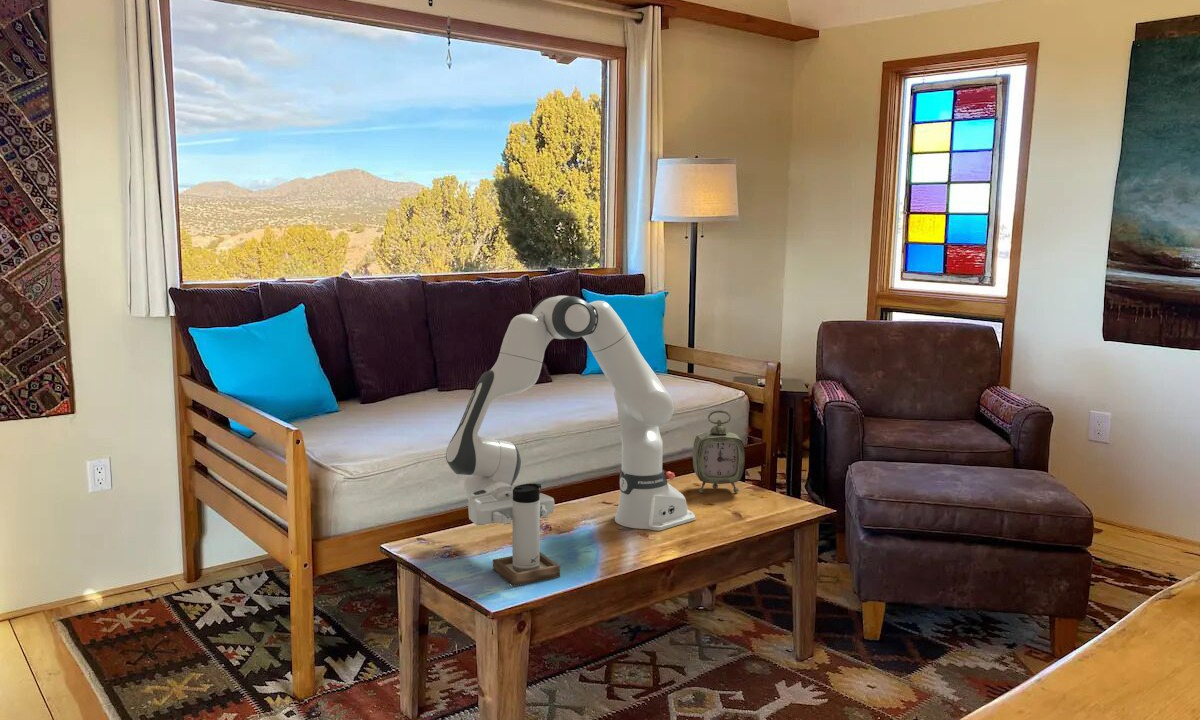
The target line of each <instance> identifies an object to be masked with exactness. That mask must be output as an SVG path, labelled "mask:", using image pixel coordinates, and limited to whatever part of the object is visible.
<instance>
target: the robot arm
mask: <svg viewBox="0 0 1200 720" xmlns="http://www.w3.org/2000/svg"><path fill="white" fill-rule="evenodd" d="M579 338H582V339H583V340H584V341H585V342H586V345H587V346H588V348H589V350H590V352H591V353H592V355H593V357H594V358H595V360H596V362H597V364H598V366H599V367H600V369H601V371H602V373H603V374H604V376H605V377H606V379H607V380H608V381H609V382H610V383H611V385H612V386H613V388H614V394H613V395H614V401H615V403H616V408H617V414H618V415H617V416H618V424H619V430H620V431H619V432H620V436H621V437H620V438H621V469H620V470H619V491H620V492H619V499H618V506H617V509H616V512H615V513H616V514H615V516H614V522H616V524H618V525H621V526H622V527H627V528H630V529H631V528H632V529H640V530H641V529H643V530H651V531H658V532H659V531H663V530H667V529H669V528H673V527H675V526H680V525H683V524H686V523H690V522H693V521H695V520H696V515H695V513H694V512H693V511H692V510H689V509H688V503H687V499H686V497H685V496H684V494H683V493H681V491H679V490H678V489H676V488H675V487H674V486H673V485H671V484H670V483H669V482H668V480H670V481H673V480H674V479H675V478H676V475H675V473H674V472H671V471H666V470H664V469H663V453H664V451H663V449H664V442H663V438H662V436H661V433H660V432H661V431H660V427H659V426H663V425H665V424H667V423H668V422H669V421H670V420H671V419H672V417H673V415H674V413H675V403H674V400H673V397H672V396H671V395H670V393H669V392H668V391H667V389H666V387H664V385H663V383H662V382H661V380H660V379H659V378H658V376H657V375H656V373H655V372H654V370H653V369H652V368H651V366H650V364H649V363H648V362H647V361H646V359H645V358H644V356H643V355H642V353H641V352H640V350H639V348H638V346H637V344H636V343H635V341H634V339H633V338H632V336H631V334H630V332H629V331H628V329H627V326H626V325H625V323H624V321H623V320H622V319H621V317H620V316H619V315H618V313H617V312H616V311H615V310H614V308H613V307H612V306H611V304H609V303H608V302H607V301H605V300H594V301H591V302H587V301H586V300H584V299H583V298H581V297H577V296H572V295H571V296H570V295H557V296H550V297H549V296H548V297H545V298H543V299H541V300H540V301H538V302H537V303H536V304H535V306H534V307H533V309H531V310H530V312H528V313H521V314H517V315H516V316H514V317H513V318H512V319H511V320H510V323H509V324H508V327H507V330H506V332H505V334H504V337H503V340H502V343H501V346H500V351H499V354H498V357H497V360H496V361H495V363H494V365H493V366H492V367H491V369H489V370H488V371H485V372H483V373H482V374H481V376H480V377H479V379H478V381H477V383H476V385H475V387H474V388H473V391H472V394H471V395H470V399H469V400H468V403H467V406H466V407H465V411H464V412H463V415H462V417H461V420H460V422H459V424H458V427H457V428H456V431H455V433H454V435H453V436H452V437H451V439H450V441H449V443H448V446H447V449H446V452H445V460H446V463H447V464H448V466H449V468H450V469H451V470H452V471H453V473H455V474H456V475H463V476H466V478H465V479H464V482H463V491H464V493H465V496H466V498H467V499H468V500H467V501H468V504H467V507H468V508H467V510H468V518H469V519H468V520H470V521H471V522H472V523H473V524H475V525H477V526H484V525H490V524H496V523H497V524H503V525H504V526H508V525H511V524H512V521H513V489H514V488H515V487H514V486H513V484H514V483H515V482H516V480H517V478H518V476H519V473H520V471H521V465H522V459H521V456H520V455H521V454H520V452H519V450H518V448H517V446H516V445H515V443H513V442H512V441H507V440H502V439H498V438H490V437H485V436H479V435H478V434H479V431H480V429H481V426H482V425H483V422H484V419H485V416H486V414H487V413H488V410H489V407H490V406H491V404H492V403H493V402H494V401H495V400H497V399H500V398H501V397H502V398H503V397H505V396H510V395H516V394H520V393H523V392H525V391H527V390H530V389H531V388H532V387H533V386H535V384H536V383H537V381H538V380H539V377H540V374H541V370H542V366H543V361H544V358H545V352H546V349H547V347H548V346H549V343H550V342H552V340H554V339H557V340H567V339H568V340H575V339H579ZM539 493H540V495H539V496H540V518H541V519H546V518H548V517H549V515H550V514H553V513H554V511H555V499H554V497H552V496H549V495H547V494H544V493H542V492H539Z"/></svg>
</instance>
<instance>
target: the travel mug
mask: <svg viewBox="0 0 1200 720" xmlns="http://www.w3.org/2000/svg"><path fill="white" fill-rule="evenodd" d="M541 489H542V485H541V484H540V483H525V484H524V483H522V484H519V485H516V486H515V487H514V489H513V520H512V556H513V569H514V570H515V571H517V572H524V571H529V570H534V569H539V567H540V562H539V561H540V552H541V550H540V548H541V547H540V546H541V544H540V543H541V542H540V541H541V540H540V539H541V538H540V537H541V536H540V535H541V533H540V531H541V530H540V529H541V526H540V525H541V519H540V496H539V495H540V493H541V492H540V490H541Z"/></svg>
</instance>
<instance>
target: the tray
mask: <svg viewBox="0 0 1200 720" xmlns="http://www.w3.org/2000/svg"><path fill="white" fill-rule="evenodd" d="M539 562H540V567H539V569H534V570H529V571H524V572H517V571H515V570H514V569H513V555H510V556H505V557H501V558H495V559H492V571H493V572H494V573H495V574H497V575H498V576H499V577H501V579H503V580H504V581H505V582H506V583H508V584H509V585H510V584H511V585H512V586H511V585H510V586H511V587H515V586H514V585H518V586H521V585H520V584H523V585H526V584H527V583H528V584H531V583H535V582H536V583H537V582H542V581H545V580H551V578H552V579H556V578H561V565H560V564H558V563H557V562H556V561H554V560H552V559H551V558H549V557H548V556H547V555H545V554H544V553H542V552H541V551H540V561H539Z"/></svg>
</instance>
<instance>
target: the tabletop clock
mask: <svg viewBox="0 0 1200 720" xmlns="http://www.w3.org/2000/svg"><path fill="white" fill-rule="evenodd" d="M717 413H718V414H719V413H721V414H722V413H723V414H726V415H727V416H728V417H729V418H728V419H727V420H725V421H722V420H721V419H717V421H713V420H712V419H710V417H711V416H712V415H714V414H717ZM731 419H732V416H731V414H730V413H729V412H728V411H726V410H713V411H711V412H710V413H709V414H708V416H707V420H708V422H710V423H711V424H714V425H713V426H712V427H711V429H710V431H705V432H701V433H697V434H696V436H695V439H694V442H693V447H692V448H693V449H692V465H693V470H694V473H695V475H696V477H697V479H699V481H700V482H701V483H702V485H701V487H700V488H699V487H698V493H700V494H703V493H704V491H705V490H704V487H705V485H706V484H712V488H713V489H714V490H715V489H716V490H717V489H718V488H719V485H722V484H731V485H732V487H733V492H734V493H735V494H736V493H739V491H740V489H739V487H736V484H735V483H737V482H740V481H741V479H742V477H743V474H744V471H745V462H746V457H745V446H744V442H743V440H742V439H741V438H740V437H739V436H738V434H735V433H734V432H731V431H730V432H729V431H728V429H727V428H726V427H725V426H724V425H725V424H727V423H729V422H730V421H731Z"/></svg>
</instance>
